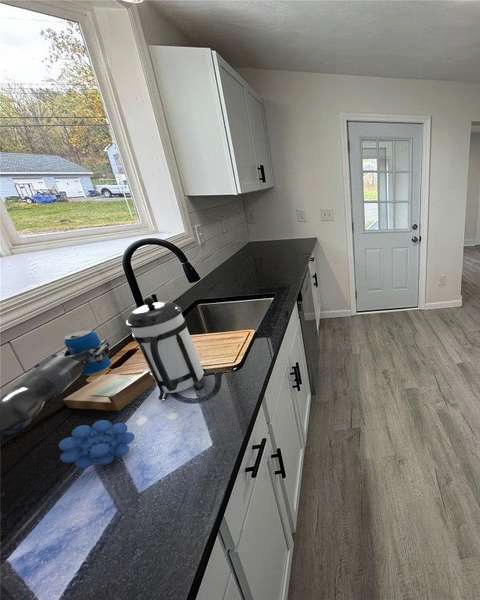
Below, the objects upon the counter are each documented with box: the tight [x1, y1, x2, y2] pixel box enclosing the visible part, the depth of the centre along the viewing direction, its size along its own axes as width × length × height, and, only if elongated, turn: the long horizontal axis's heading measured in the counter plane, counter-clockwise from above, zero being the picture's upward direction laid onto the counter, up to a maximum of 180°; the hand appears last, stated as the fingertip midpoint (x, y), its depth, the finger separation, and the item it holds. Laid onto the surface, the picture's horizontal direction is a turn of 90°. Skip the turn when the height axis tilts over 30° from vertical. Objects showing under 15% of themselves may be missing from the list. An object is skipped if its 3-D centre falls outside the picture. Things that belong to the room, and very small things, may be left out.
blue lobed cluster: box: [58, 419, 135, 469], centre depth 70 cm, size 12×7×12 cm, turn 138°
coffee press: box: [125, 297, 206, 402], centre depth 91 cm, size 17×16×30 cm
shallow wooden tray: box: [62, 370, 156, 412], centre depth 95 cm, size 18×12×5 cm, turn 81°
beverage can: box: [63, 328, 112, 376], centre depth 88 cm, size 6×6×12 cm
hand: (91, 345), depth 90 cm, fingers closed on beverage can, 6 cm apart
